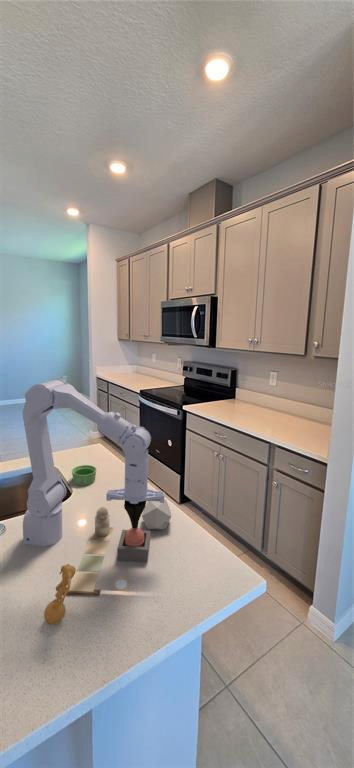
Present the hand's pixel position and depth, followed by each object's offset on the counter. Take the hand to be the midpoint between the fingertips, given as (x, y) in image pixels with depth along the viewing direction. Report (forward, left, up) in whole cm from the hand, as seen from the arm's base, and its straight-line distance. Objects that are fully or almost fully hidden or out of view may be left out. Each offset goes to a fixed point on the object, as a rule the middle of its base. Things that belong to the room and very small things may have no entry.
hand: (135, 526), depth 85 cm
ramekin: (-24, +39, -8) cm, 47 cm away
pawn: (-10, +7, -7) cm, 14 cm away
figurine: (-12, -20, -8) cm, 25 cm away
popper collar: (0, 0, -8) cm, 8 cm away
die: (+5, +12, -8) cm, 15 cm away
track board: (-10, -2, -8) cm, 13 cm away
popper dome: (0, 0, -6) cm, 6 cm away
